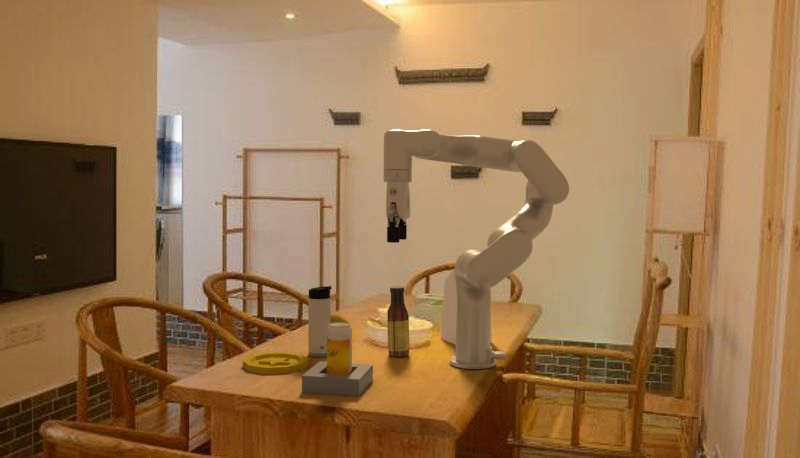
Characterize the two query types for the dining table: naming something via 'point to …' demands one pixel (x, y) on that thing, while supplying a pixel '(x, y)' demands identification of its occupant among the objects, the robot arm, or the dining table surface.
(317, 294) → the travel mug
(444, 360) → the dining table surface
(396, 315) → the sauce bottle
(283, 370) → the decorative disc
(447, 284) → the milk
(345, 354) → the beer can
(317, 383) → the socket dock
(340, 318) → the lemon
